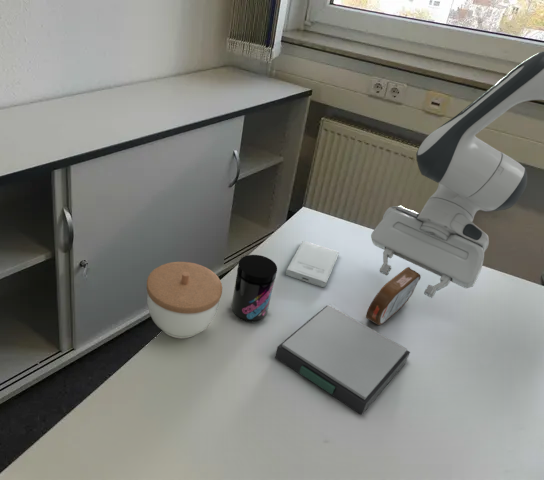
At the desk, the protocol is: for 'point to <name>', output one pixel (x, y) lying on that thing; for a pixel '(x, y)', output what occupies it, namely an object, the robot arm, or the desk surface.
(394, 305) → the tin
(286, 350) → the scale
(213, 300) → the lidded bowl
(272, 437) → the desk surface
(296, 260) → the hard drive
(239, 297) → the supplement container
